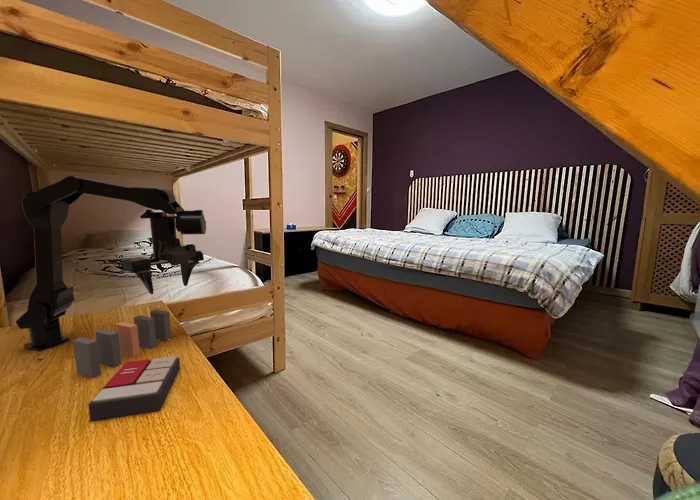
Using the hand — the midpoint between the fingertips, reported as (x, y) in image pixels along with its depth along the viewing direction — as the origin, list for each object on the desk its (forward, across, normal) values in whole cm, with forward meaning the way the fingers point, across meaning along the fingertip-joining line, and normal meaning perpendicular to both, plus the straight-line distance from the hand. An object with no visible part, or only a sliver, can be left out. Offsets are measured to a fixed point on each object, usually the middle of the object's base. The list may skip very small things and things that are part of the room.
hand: (169, 289), depth 83 cm
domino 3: (+13, -12, -2) cm, 18 cm away
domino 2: (+13, -16, -3) cm, 21 cm away
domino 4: (+13, -8, -1) cm, 15 cm away
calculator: (+14, -17, -20) cm, 30 cm away
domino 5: (+13, -3, 0) cm, 14 cm away
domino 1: (+13, -21, -4) cm, 25 cm away
